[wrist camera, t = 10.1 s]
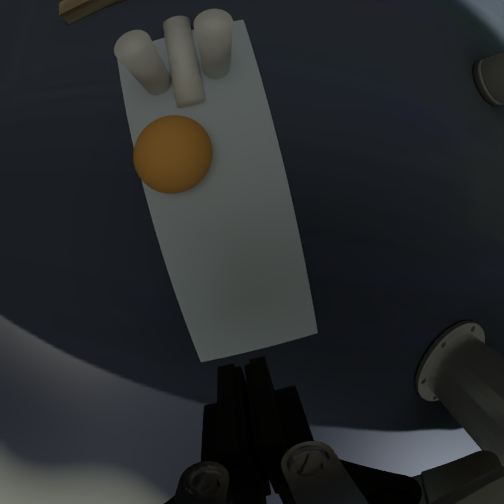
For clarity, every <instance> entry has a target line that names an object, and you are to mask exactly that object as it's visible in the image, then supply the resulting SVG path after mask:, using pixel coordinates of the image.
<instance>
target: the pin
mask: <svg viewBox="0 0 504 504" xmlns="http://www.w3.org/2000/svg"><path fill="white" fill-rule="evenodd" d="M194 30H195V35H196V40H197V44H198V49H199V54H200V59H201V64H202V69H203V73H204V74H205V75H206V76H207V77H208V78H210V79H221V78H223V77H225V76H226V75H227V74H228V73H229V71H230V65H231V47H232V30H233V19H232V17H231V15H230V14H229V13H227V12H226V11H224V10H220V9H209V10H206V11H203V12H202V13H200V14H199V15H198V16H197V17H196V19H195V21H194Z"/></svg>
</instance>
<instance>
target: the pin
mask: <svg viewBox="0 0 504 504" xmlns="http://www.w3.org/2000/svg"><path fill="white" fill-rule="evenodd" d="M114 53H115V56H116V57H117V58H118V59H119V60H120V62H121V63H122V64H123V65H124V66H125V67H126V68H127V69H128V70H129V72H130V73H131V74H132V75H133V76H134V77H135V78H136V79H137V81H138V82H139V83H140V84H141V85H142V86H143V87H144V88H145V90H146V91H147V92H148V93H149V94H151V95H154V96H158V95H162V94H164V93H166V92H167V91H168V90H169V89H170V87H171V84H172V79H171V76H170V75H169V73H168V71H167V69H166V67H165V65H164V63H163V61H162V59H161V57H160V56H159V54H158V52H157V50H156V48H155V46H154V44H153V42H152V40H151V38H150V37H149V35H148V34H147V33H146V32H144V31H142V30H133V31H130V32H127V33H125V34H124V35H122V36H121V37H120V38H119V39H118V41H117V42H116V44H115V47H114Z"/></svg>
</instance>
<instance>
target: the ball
mask: <svg viewBox="0 0 504 504" xmlns="http://www.w3.org/2000/svg"><path fill="white" fill-rule="evenodd" d="M212 156H213V149H212V143H211V140H210V137H209V135H208V134H207V132H206V131H205V129H204V128H203V127H202V126H201V125H200V124H199V123H198V122H196V121H194V120H193V119H191V118H188V117H185V116H180V115H169V116H164V117H161V118H158V119H156V120H154V121H153V122H151V123H150V124H149V125H147V126H146V127H145V128H144V129H143V131H142V132H141V133H140V135H139V136H138V138H137V141H136V143H135V147H134V153H133V160H134V166H135V169H136V171H137V173H138V175H139V177H140V178H141V180H142V181H143V182H144V183H145V184H146V185H147V186H149V187H150V188H152V189H154V190H156V191H158V192H162V193H167V194H176V193H181V192H185V191H187V190H189V189H191V188H193V187H194V186H196V185H197V184H198V183H199V182H201V180H202V179H203V178H204V177H205V176H206V174H207V172H208V170H209V168H210V166H211V162H212Z"/></svg>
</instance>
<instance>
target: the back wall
mask: <svg viewBox="0 0 504 504" xmlns="http://www.w3.org/2000/svg"><path fill="white" fill-rule="evenodd" d="M120 1H123V0H64V1H62V2H60V3H59V16H60V17H61V18H62V19H64V20H65V21H66V22H67V23H68V24H71V23H73V22H75V21H77V20H79V19H81V18H83V17H85V16H87V15H90V14H92V13H94V12H96V11H98V10H101V9H103V8H105V7H108V6H110V5H113V4H115V3H118V2H120Z"/></svg>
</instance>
